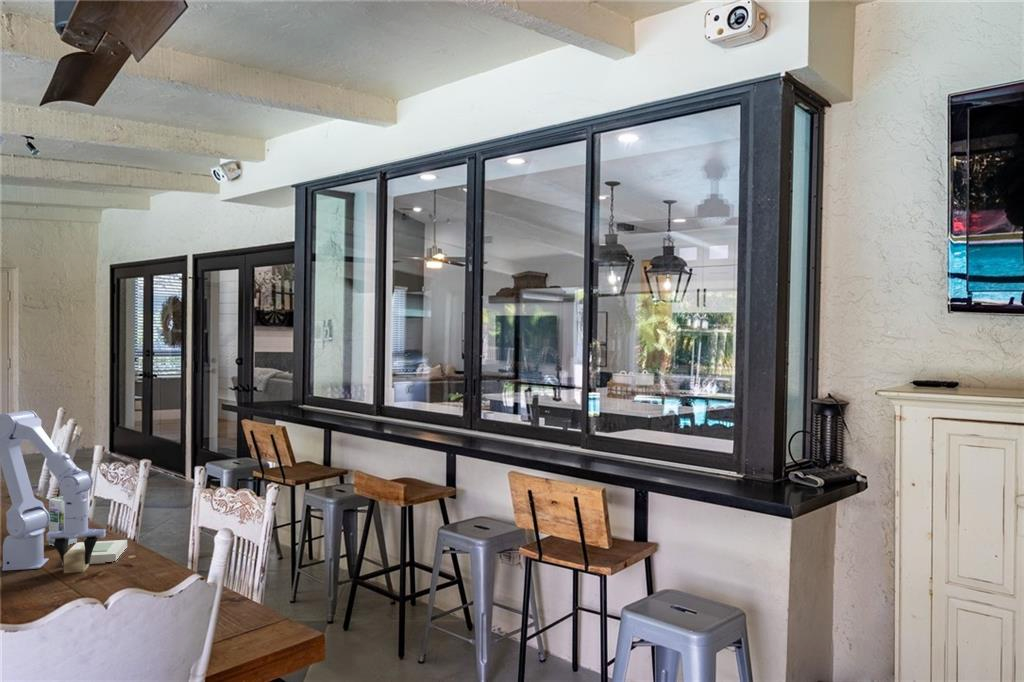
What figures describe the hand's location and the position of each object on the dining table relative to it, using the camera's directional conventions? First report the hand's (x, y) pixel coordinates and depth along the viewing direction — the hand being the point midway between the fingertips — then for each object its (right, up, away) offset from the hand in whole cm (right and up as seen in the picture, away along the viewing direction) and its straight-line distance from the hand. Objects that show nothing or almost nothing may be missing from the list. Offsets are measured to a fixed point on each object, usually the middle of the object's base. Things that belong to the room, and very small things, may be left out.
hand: (76, 563), depth 213 cm
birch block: (0, -2, 0) cm, 2 cm away
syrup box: (-17, -1, +23) cm, 29 cm away
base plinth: (-1, -1, +12) cm, 12 cm away
